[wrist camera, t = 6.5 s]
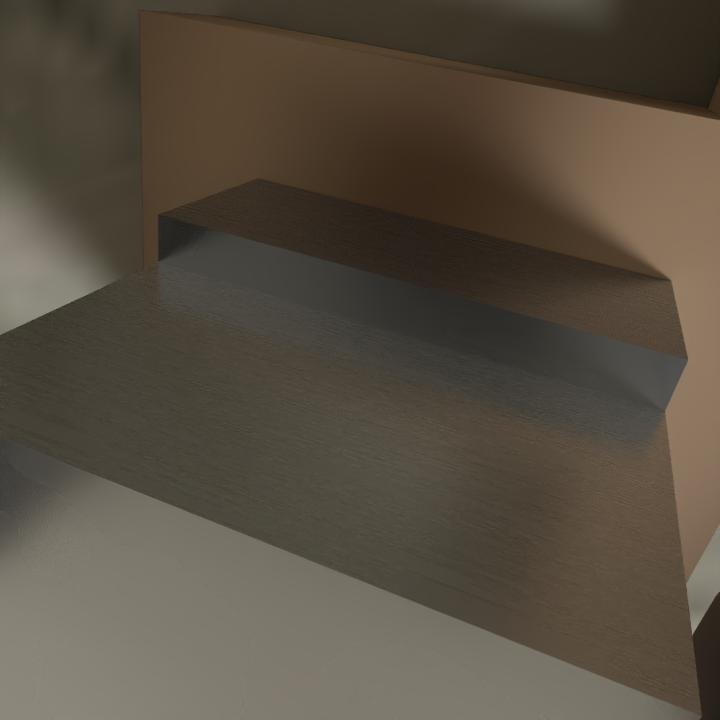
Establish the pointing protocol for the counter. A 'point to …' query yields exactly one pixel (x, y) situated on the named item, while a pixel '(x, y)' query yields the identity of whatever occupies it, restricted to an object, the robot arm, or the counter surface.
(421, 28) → the counter surface
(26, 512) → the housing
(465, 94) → the stand
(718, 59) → the counter surface
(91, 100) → the counter surface
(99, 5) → the counter surface
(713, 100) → the stand
